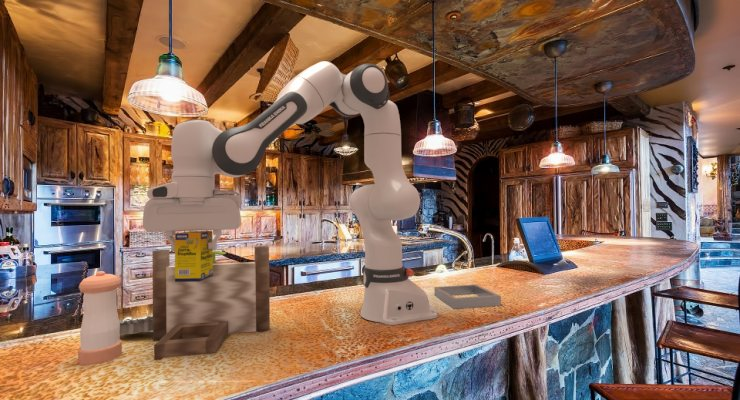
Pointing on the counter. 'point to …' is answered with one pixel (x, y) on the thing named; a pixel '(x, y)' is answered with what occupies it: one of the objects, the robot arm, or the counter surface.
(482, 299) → the frame
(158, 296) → the wooden display stand
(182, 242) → the supplement box
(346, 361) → the counter surface
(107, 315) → the pepper shaker
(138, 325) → the egg carton
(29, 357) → the counter surface
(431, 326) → the counter surface
